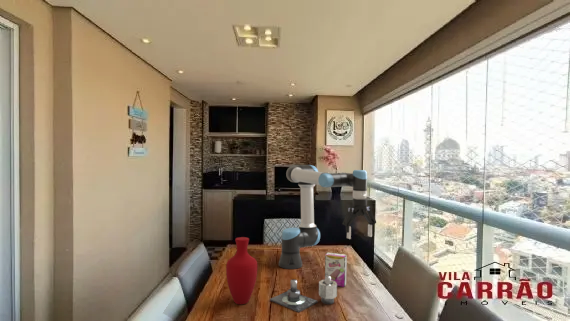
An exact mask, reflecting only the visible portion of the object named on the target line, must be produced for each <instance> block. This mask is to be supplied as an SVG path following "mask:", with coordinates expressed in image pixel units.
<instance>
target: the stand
mask: <svg viewBox="0 0 570 321" xmlns="http://www.w3.org/2000/svg"><path fill="white" fill-rule="evenodd" d="M324 280H325V284H326V285H331V276H329V275H326V276H325V275H324ZM320 298H321V300H320V301H321V303H322V304H324V305H333V304H334V303H335V298H333V299H325V298H322V297H320Z"/></svg>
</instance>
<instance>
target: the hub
mask: <svg viewBox="0 0 570 321" xmlns="http://www.w3.org/2000/svg"><path fill="white" fill-rule="evenodd" d="M269 301H270V302H272V303H275V304H276V305H280V306H283V307H284V308H287V309H289V310H293V311H294V312H296V313H301V312H303V311H304V310H307V309H308V308H310V307H312V306H315V304H318V300H317V299H314V298H312V297H309V296H306V295H303V294H301V290H300V289H298V279H296V278H295V279H294V278H293V279H290V288H289V289H287V291H285V292H282V293H280V294H278V295H276V296H273V297H271V298H269Z"/></svg>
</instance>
